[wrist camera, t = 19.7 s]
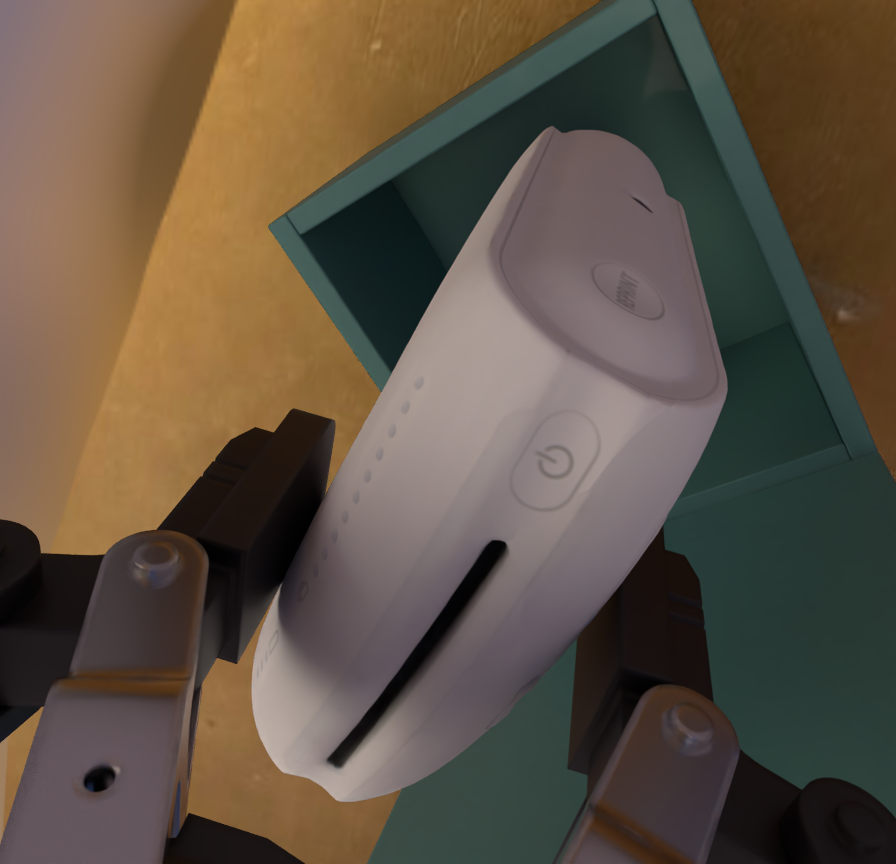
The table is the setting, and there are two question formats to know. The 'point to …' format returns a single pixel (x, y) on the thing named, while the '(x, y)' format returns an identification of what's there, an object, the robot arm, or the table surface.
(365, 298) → the chest
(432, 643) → the photo printer
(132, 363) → the table surface
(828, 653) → the lid
